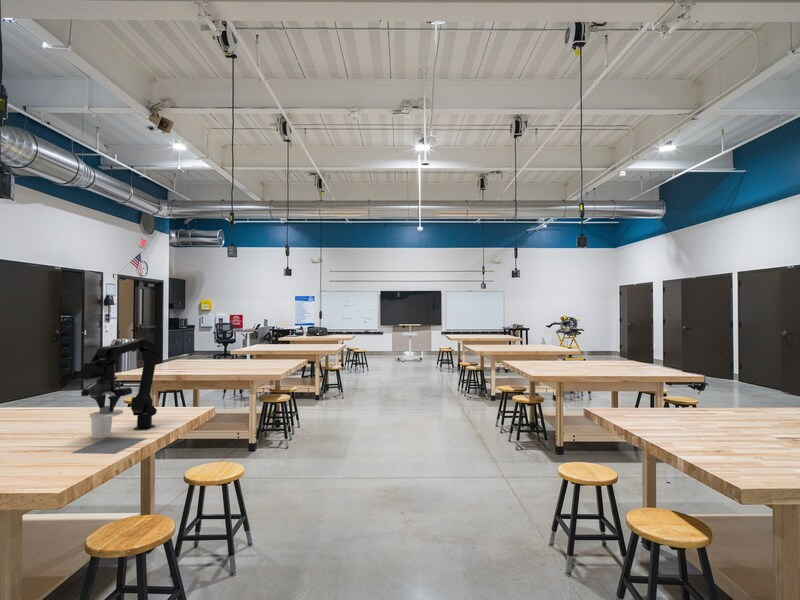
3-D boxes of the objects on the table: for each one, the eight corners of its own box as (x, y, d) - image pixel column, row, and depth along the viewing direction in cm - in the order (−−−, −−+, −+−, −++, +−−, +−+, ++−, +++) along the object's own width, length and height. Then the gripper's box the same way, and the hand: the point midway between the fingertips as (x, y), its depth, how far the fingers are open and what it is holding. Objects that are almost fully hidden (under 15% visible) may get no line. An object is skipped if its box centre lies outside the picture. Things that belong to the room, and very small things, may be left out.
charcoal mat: (107, 438, 187) (107, 437, 187) (147, 439, 186) (147, 438, 186) (70, 454, 167) (70, 452, 167) (115, 455, 166) (115, 453, 166)
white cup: (87, 440, 185) (87, 417, 185) (95, 434, 193) (95, 412, 193) (108, 438, 187) (108, 415, 188) (114, 433, 195) (115, 411, 195)
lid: (102, 410, 190) (102, 403, 190) (129, 410, 190) (129, 403, 190) (82, 417, 178) (82, 410, 178) (111, 418, 178) (111, 410, 178)
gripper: (71, 378, 177) (70, 416, 176) (115, 378, 176) (115, 416, 176) (91, 374, 188) (90, 409, 188) (132, 374, 188) (132, 409, 187)
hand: (106, 411), depth 184 cm, fingers closed on lid, 4 cm apart
